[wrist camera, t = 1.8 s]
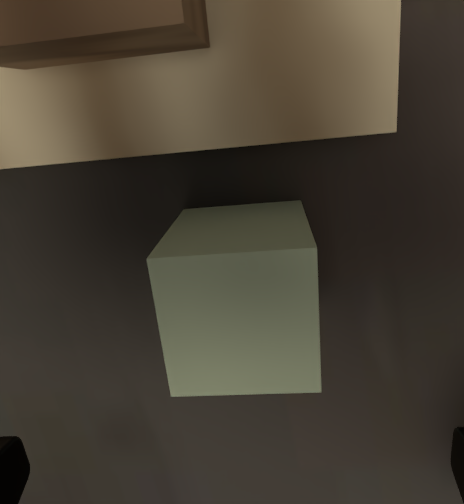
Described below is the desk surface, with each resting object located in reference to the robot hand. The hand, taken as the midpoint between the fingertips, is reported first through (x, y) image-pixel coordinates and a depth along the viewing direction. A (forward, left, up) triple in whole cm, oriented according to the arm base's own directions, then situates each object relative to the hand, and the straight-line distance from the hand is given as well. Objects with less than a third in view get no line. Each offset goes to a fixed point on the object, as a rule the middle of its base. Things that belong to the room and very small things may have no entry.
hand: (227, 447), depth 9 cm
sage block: (0, 0, -11) cm, 11 cm away
